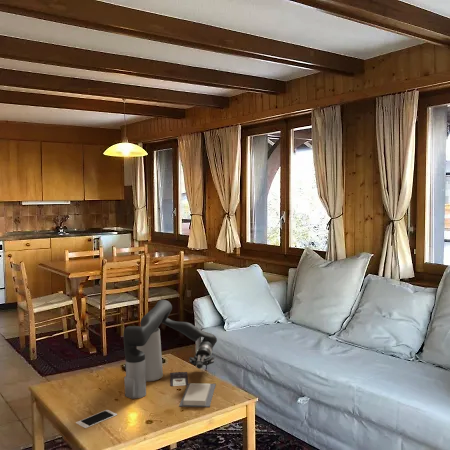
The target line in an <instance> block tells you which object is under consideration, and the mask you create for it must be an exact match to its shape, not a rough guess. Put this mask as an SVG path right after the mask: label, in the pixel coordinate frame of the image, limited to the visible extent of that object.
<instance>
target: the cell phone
mask: <svg viewBox="0 0 450 450" xmlns="http://www.w3.org/2000/svg"><path fill="white" fill-rule="evenodd" d="M116 416H118V414H117V412H114V411H111V410H109V409H105V410H102V411H100V412H98V413H95V414H93V415H90V416H88V417H85V418H83V419H81V420H78V421H76V422H75V424H77V425H78V426H80V427H82V428H84V429H87V428H90V427H93V426H95V425H97V424H99V423H101V422H104V421H107V420H109V419H111V418H113V417H116Z"/></svg>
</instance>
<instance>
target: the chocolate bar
mask: <svg viewBox="0 0 450 450" xmlns="http://www.w3.org/2000/svg"><path fill="white" fill-rule="evenodd" d="M169 374H170V376H169V377H170V381H169V383H170V384H169V385H170V387H177V386H179V387H180V386H187V385H188V383H189V378H188V377H189V376H188V375H189V374H188V371H181V372H180V371H178V372H170V373H169Z"/></svg>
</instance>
